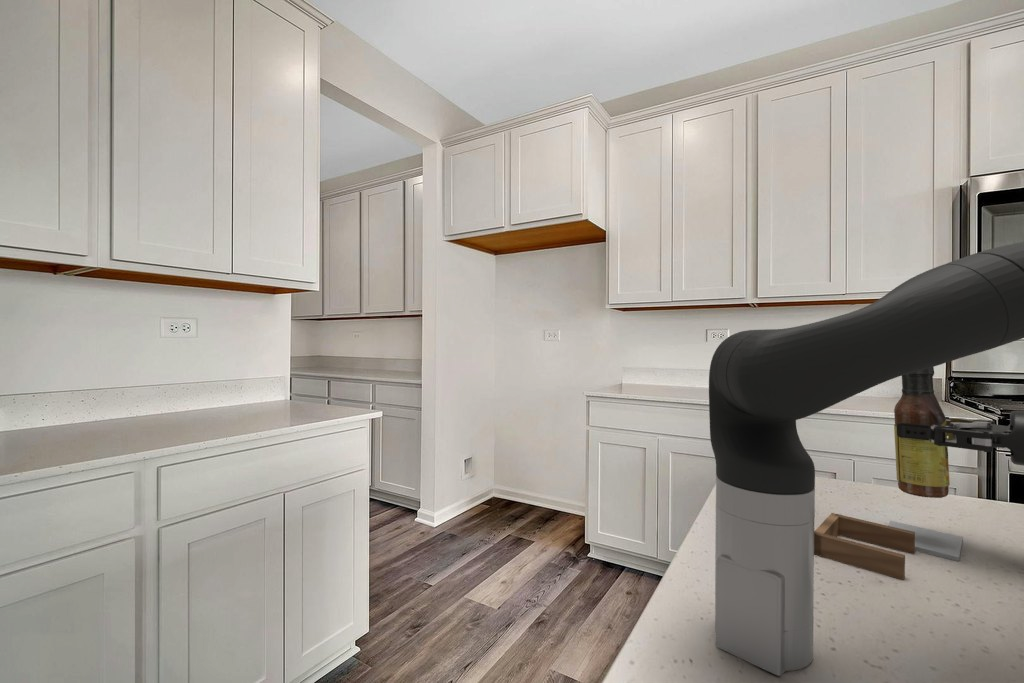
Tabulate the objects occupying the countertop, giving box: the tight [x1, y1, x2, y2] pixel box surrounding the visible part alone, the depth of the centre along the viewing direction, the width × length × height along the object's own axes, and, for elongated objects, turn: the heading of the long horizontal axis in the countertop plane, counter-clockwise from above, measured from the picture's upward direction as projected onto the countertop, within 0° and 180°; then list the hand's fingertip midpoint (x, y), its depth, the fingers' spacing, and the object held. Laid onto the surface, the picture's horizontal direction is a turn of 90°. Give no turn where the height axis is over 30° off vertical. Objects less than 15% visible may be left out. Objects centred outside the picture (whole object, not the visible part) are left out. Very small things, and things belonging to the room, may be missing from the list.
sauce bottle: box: [893, 366, 951, 499], centre depth 73 cm, size 7×6×20 cm
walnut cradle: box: [814, 512, 916, 581], centre depth 71 cm, size 12×11×3 cm
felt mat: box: [887, 520, 964, 562], centre depth 75 cm, size 10×9×1 cm
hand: (901, 426), depth 75 cm, fingers closed on sauce bottle, 6 cm apart
